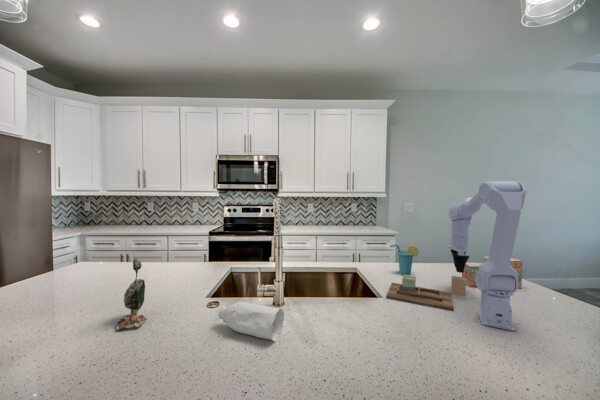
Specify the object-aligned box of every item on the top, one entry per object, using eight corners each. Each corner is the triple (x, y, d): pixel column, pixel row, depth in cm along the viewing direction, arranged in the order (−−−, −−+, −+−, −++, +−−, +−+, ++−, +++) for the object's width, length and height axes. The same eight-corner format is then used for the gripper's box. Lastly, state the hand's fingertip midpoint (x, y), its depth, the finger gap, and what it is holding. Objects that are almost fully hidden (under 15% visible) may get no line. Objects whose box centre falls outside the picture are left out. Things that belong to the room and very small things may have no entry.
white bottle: (230, 319, 78) (230, 294, 78) (285, 332, 71) (285, 304, 71) (212, 332, 71) (212, 304, 71) (272, 347, 64) (272, 316, 64)
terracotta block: (465, 296, 99) (465, 280, 99) (452, 293, 101) (452, 279, 101) (464, 292, 103) (464, 277, 103) (451, 290, 105) (451, 275, 105)
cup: (393, 276, 121) (393, 245, 121) (386, 271, 129) (387, 242, 128) (421, 276, 122) (421, 245, 122) (412, 271, 130) (413, 242, 129)
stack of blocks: (469, 287, 108) (470, 259, 108) (461, 282, 115) (462, 255, 114) (521, 289, 107) (522, 260, 107) (510, 283, 113) (511, 256, 113)
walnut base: (453, 311, 86) (454, 290, 85) (386, 298, 96) (386, 279, 95) (450, 294, 100) (450, 277, 100) (391, 284, 110) (392, 269, 110)
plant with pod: (154, 312, 82) (154, 251, 82) (138, 331, 71) (137, 260, 70) (127, 314, 81) (126, 252, 80) (106, 333, 69) (105, 261, 69)
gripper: (447, 233, 110) (446, 263, 110) (449, 238, 97) (448, 273, 97) (466, 234, 106) (465, 266, 107) (471, 239, 93) (470, 276, 94)
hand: (458, 269), depth 102 cm, fingers open, 7 cm apart
